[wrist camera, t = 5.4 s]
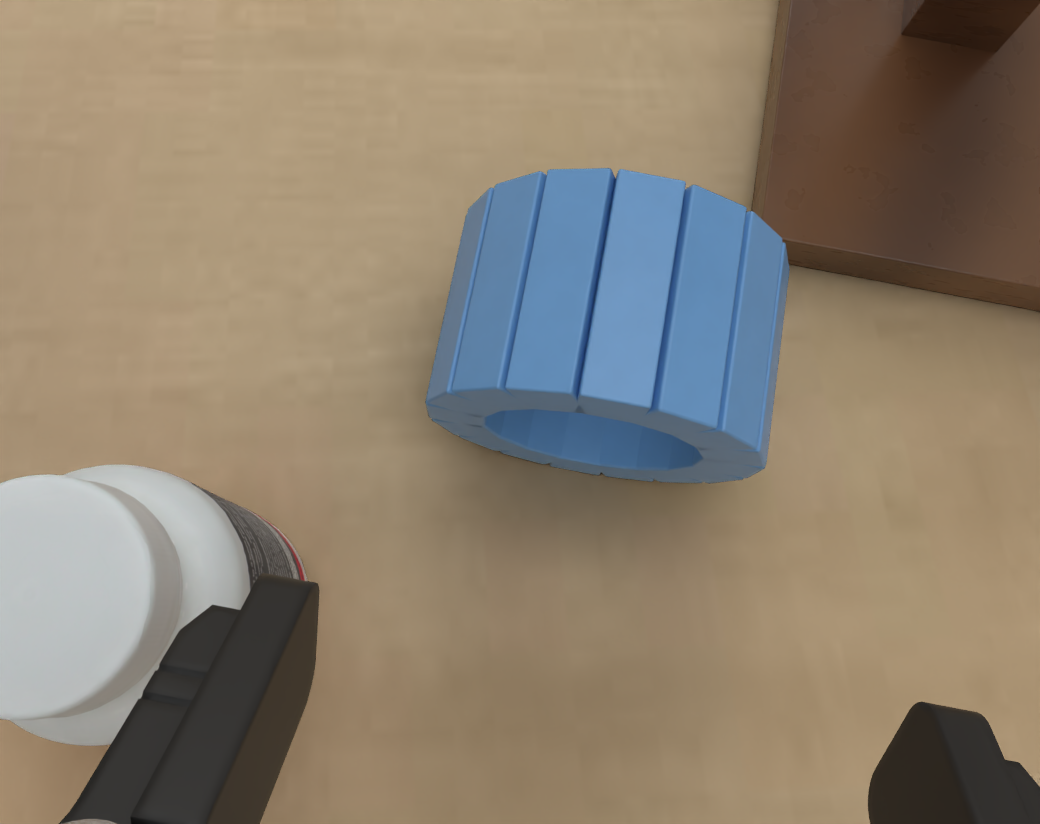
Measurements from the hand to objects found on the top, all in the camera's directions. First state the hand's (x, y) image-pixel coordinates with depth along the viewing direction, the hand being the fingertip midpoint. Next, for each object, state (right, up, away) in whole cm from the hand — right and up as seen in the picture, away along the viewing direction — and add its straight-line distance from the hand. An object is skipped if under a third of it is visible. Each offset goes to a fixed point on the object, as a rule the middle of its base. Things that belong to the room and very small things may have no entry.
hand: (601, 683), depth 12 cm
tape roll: (+1, +4, +14) cm, 15 cm away
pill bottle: (-9, -2, +12) cm, 15 cm away
